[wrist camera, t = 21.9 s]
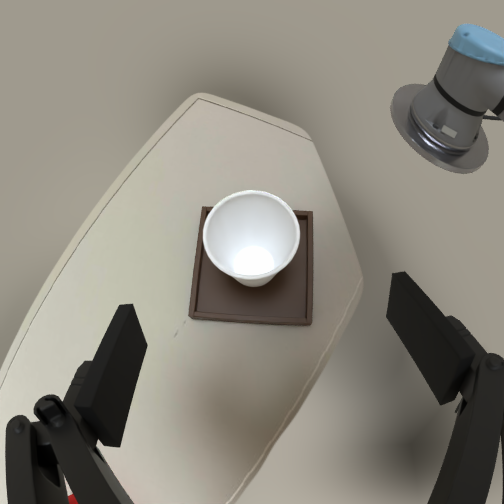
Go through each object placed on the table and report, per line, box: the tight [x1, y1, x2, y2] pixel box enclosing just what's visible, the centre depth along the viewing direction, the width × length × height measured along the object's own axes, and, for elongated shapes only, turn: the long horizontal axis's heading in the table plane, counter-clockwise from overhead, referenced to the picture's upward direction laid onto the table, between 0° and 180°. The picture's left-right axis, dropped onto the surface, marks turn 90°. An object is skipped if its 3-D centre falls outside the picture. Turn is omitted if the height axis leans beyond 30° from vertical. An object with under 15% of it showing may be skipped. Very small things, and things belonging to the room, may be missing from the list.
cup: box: [203, 190, 300, 287], centre depth 37 cm, size 10×10×11 cm
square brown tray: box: [188, 207, 313, 326], centre depth 42 cm, size 15×15×2 cm
